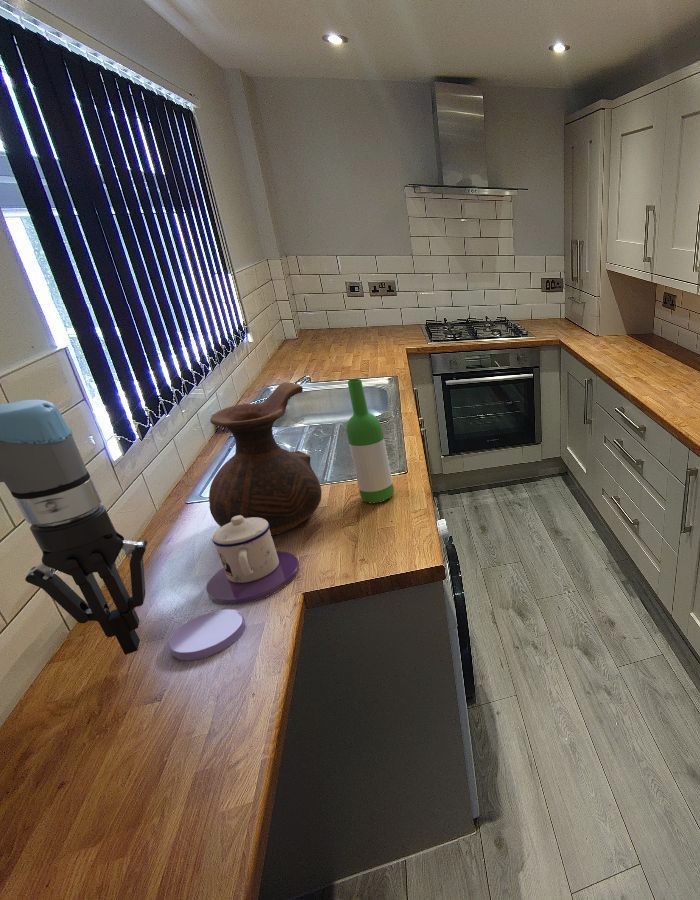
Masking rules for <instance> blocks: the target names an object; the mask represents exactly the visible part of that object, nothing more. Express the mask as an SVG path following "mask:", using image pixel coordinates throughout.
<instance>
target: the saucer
mask: <svg viewBox="0 0 700 900" xmlns="http://www.w3.org/2000/svg"><path fill="white" fill-rule="evenodd" d="M276 552H277V556H278V559H279V564H278V566H277V568H276V569H275V570H274V571H273V572H271V573H270V574H268V575H267V576H265V577H263V578H260V579H258V580H255V581H251V582H245V583H236V582H232V581H230V580H229V579H228V578H227V576H226V573H225V570H224V567H222V568H221V569H219V571H217V572H216V573H214V574H213V575H212V576H211V578H210V579H209V581H208V582H207V584H206V593H207V595H208V598H209V599H210V600H211V601H212V602H214V603H215V604H219V605H226V606H230V605H231V606H233V605H241V604H247V603H251V602H255V600H256V601H258V600H262V599H264V598H267V597H269V596H271V595H273V594H275V593H277V592H279V591H281V590H282V589H284V588H285V587H286V586H288V585H289V584H290V583H291V582H292V581H293V580H294V579H295V578H296V577H297V576H296V574H297V573H298V574H299V572H300V568H299V567H300V563H299V559H298V558H297V556H296V555H294V554H293V553H291V552H287V551H281V550H280V551H277V550H276ZM298 571H299V572H298ZM298 574H297V575H298ZM295 576H296V577H295ZM294 577H295V578H294ZM293 578H294V579H293ZM292 579H293V580H292ZM291 580H292V581H291ZM290 581H291V582H290ZM289 582H290V583H289ZM288 583H289V584H288ZM287 584H288V585H287ZM285 585H286V586H285ZM284 586H285V587H284ZM283 587H284V588H283ZM281 588H282V589H281ZM280 589H281V590H280ZM278 590H279V591H278ZM276 591H277V592H276ZM274 592H275V593H274ZM272 593H273V594H272ZM268 595H269V596H268ZM266 596H267V597H266ZM261 598H262V599H261Z"/></svg>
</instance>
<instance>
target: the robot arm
mask: <svg viewBox="0 0 700 900" xmlns="http://www.w3.org/2000/svg"><path fill="white" fill-rule="evenodd" d="M0 483H4V484H5V487H7V489H8V490H9V492H10V494H11V496H12V498H13V500H14V502H15V503H16V505H17V507H18V509H19V511H20V513H21V514H22V516H23V518H24V520H25V522H26V523H27V524H30V527H29V530H30V532H31V534H32V535H33V538H34V539H35V542H36V543H37V545H38V547H39V549H40V550H41V552H42V556H41V562H40V563H39V564H38V565H35V566H33V567H31V568H30V570H29V571H28V573H27V575H26V576H25V579H24V581H25V582H26V583H28V584H31V585H32V586H33V585H34V586H35V587H38V588H40V589H42V590H43V591H44V592H45V593H46V594H47V595H48V596H49V597H50V598H51V599H52V600H53V601H55V602H56V603H57V604H58V605H59V607H61V608H62V609H63V610H64V611H65V612H66V613H68V614H69V615H70V616H71V617H72V618H73V619H74V620H75V621H76V622H77V623H79V624H87V623H88V622H93V621H95V622H97V623H98V624H99V626H100V628H101V630H102V632H103V634H104V635H105V637H107V638H108V639H109V638H113V637H115V638H116V639H117V642H118V644H119V646H120V648H121V650H122V652H123V654H124V655H125V656H126V655H129V654H132V653H135V652H138V651H139V647H140V646H139V645H140V642H141V640H140V637H139V635H138V633H137V631H136V630H137V629H139V626H140V618H139V616H138V614H137V611H136V609H135V608H137V607H141V606H143V605H144V602H145V598H146V584H145V583H146V581H145V568H144V555H145V553H146V549H147V545H148V541H147V540H146V539H143V538H142V539H139V540H137V541H134V540H128V539H125V537H124V536H123V535H122V534H120V533H119V532H118V531H117V530H116V528H115V526H114V524H113V522H112V520H111V518H110V515H109V513H108V511H107V509H106V507H105V505H103V504H101V503H102V497H101V495H100V493H99V491H98V489H97V487H96V485H95V483H94V481H93V478H92V477H91V474H90V472H89V471H88V469H87V467H86V465H85V462H84V460H83V457H82V455H81V453H80V451H79V448H78V446H77V443H76V441H75V439H74V437H73V431H72V429H71V427H69V426H68V424H67V422H66V420H65V419H64V417H63V415H62V413H61V411H60V410H59V408H58V407H57V405H56V404H54V403H53V402H51V401H48V400H44V399H26V400H25V399H24V400H17V401H12V402H5V403H0ZM122 550H124V552H125V556H126V557H127V558H130V560H129V572H130V586H131V596H130V594H129V592H128V590H127V588H126V585H125V583H124V581H123V579H122V577H121V575H120V573H119V570H118V569H117V567H116V566H117V565H116V561H117V559H118V557H119V555H120V553H121V551H122ZM56 571H58V572H60V573H63V574H65V575H67V576H70V577H71V578H72V579H73V581H74V583H75V585H76V586H78V588H79V589H80V592H81V594H82V596H83V598H84V599H85V600H84V599H83V598H82V597H81V596H80V595H79V594H78V593H77V592H75V590H74V589H72V587H70V586H69V584H67V582H65V581H64V580H63V579H62V578H61V577H60V576H59V575H58V574H57V573H55V572H56ZM95 573H97V574H98V577H99V578H100V579H101V580H102V581H103V583H104V585H105V587H106V590H107V591H108V594H109V595H110V597H111V600H112V602H113V603H114V605H115V609H112V610H110V609H111V606H112V605H111V604H108V601H107V599H106V597H105V595H104V593H103V591H102V589H101V587H100V585H99V583H98V580H97V579H96V577H95Z"/></svg>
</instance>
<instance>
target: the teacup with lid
mask: <svg viewBox="0 0 700 900" xmlns="http://www.w3.org/2000/svg"><path fill="white" fill-rule="evenodd" d="M269 528H270V524H269V523H268V522H267V521H266V520H265V519H263V518H258V517H251V518H244V517H243V516H241V515H238V516H235V517H233V518H232V519H231V522H230V523H228V524H226V525H224V526H222V527H221V526H219V528H218V529H216V531H214V533H213V535H212V539H211V542H212V543H213V544H214V545H215V547H216V550H217V553H218V557H219V559H220V561H221V564H222V568H224V570H225V573H226V576H227V578H228V579H229V580H230V581H232V582H236V583H245V582H251V581H255V580H258V579H260V578H263V577H265V576H267V575H268V574H270V573H271V572H273V571H274V570H275V569H276V568H277V566H278V564H279V559H278V556H277V552H276V551H277V549H276V546H275V543H274V539H273V536H271V533H270V529H269Z"/></svg>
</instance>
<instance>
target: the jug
mask: <svg viewBox="0 0 700 900" xmlns="http://www.w3.org/2000/svg"><path fill="white" fill-rule="evenodd" d="M303 389H304V388H303V386H302V385H299V384H298V383H293V382H287V381H286V382H281V383H280V384H278V385H277V387H276V388H275V389H274V391H272V393H271V394H270V395H269V396H268V397H267V398H266V399H265V400H264V401H263V402H259V403H240V404H236V405H235V404H234V405H231V406H228V407H225V408H222V409H220V410H218V411H217V412H215V413H214V414H213V415H212V416H211V417H210V420H209V422H210V423H211V424H212V425H214V426H217V427H220V428H225V429H228V430H229V432H230V433H231V434H232V436H233V439H234V441H235V453H234V455H233V456H232V457H230V458H229V459H228V460H227V461H226V462H225V463H224V464H223V465H222V466H221V467H220V468H219V470H218V471H217V473H216V474H215V475H214V477H213V479H212V481H211V484H210V485H209V492H208V502H209V511H210V514H211V517H212V518H213V520H214V521H215V523H216V524H217V525H218V526H219V527H222V526H224V525H226V524H228V523H230V522H231V519H232V518H233V517H235V516H238V515H241V516H243V517H244V518H251V517H258V518H263V519H265V520H266V521H267V522H268V523H269V524H270V528H269V529H270V533H271V535H273V536H276V535H275V534H277V535H279V534H278V533H280V534H282V532H283V533H285V532H284V531H286V532H288V531H290V530H292V529H294V528H296V527H298V526H299V525H301V524H302V523H303V522H305V521H306V520H308V518H310V517H311V516H312V515H313V514H314V513H315V512H316V510H317V509H318V508H319V505H320V504H321V501H322V486H321V482H320V480H319V478H318V476H317V475H316V473H315V472H314V470H313V468H312V466H311V455H309V454H307V453H305V452H304V451H303V452H302V451H300V450H296V451H289V450H287V449H284V448H282V447H281V446H280V445H279V444H278V443H277V441H276V439H275V438H274V434H273V426H274V423H275V422H276V421H277V420H278V419H280V418H282V417H283V416H284V415H285V414H286V409H287V406H288V403H289V400H290V399H292V397H294V396H296V395H297V394H301V393H303V391H304V390H303ZM295 526H296V527H295ZM293 527H294V528H293ZM291 528H292V529H291ZM289 529H290V530H289ZM287 530H288V531H287Z"/></svg>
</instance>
